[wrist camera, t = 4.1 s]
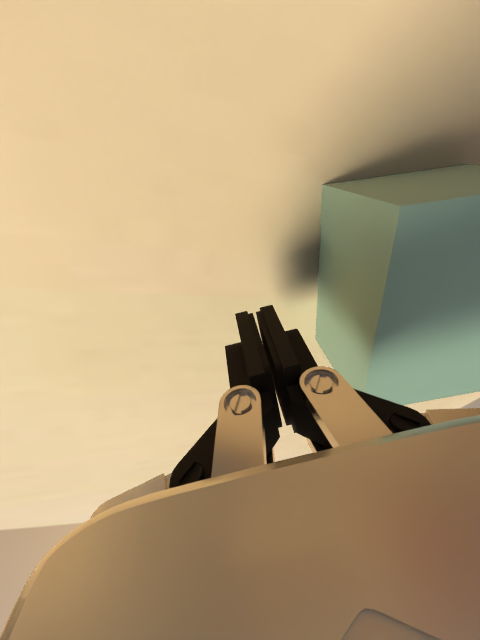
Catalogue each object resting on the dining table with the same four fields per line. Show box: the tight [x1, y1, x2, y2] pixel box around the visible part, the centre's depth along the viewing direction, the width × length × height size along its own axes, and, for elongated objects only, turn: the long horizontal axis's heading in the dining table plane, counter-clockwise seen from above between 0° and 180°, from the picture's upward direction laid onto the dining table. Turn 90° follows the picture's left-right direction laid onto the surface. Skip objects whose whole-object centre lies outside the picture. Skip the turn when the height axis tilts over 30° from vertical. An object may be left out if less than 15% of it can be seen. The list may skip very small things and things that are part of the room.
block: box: [316, 164, 480, 405], centre depth 13 cm, size 9×7×6 cm
